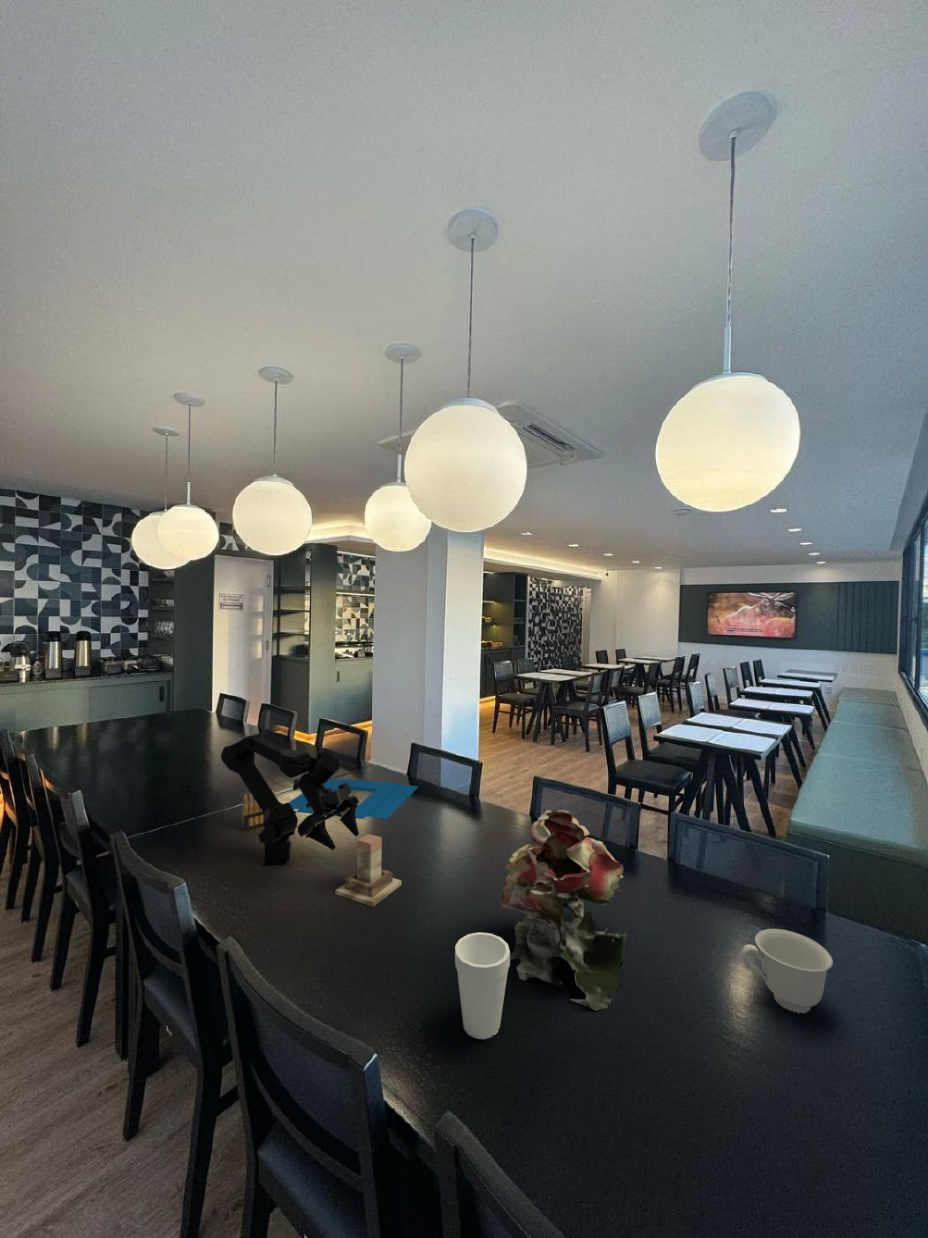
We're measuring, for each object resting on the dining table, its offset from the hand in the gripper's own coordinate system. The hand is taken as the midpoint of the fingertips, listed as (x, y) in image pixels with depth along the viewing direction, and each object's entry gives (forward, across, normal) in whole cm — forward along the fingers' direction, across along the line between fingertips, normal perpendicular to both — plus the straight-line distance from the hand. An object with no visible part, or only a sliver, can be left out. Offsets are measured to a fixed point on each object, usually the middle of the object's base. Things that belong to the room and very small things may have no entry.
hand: (346, 842), depth 136 cm
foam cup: (+44, -26, -30) cm, 59 cm away
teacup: (+77, +6, -63) cm, 100 cm away
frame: (-20, +50, +37) cm, 66 cm away
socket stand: (+13, 0, +2) cm, 13 cm away
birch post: (+12, 0, +1) cm, 12 cm away
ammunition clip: (-27, +14, +43) cm, 52 cm away
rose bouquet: (+49, 0, -34) cm, 59 cm away
